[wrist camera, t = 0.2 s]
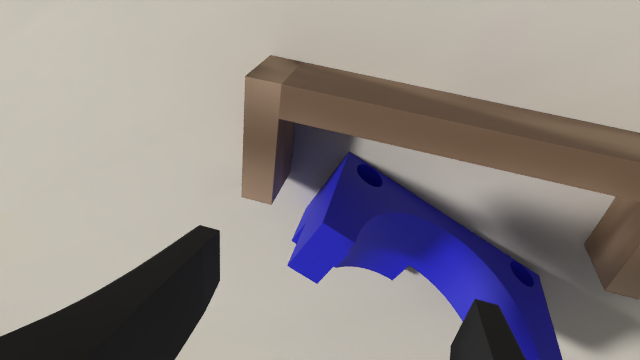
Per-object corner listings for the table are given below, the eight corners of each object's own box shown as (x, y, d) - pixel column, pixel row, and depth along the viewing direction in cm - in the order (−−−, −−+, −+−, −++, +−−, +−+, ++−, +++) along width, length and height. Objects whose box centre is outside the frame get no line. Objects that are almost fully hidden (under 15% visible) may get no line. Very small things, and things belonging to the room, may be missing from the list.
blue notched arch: (307, 206, 23) (272, 284, 18) (349, 149, 21) (322, 222, 16) (477, 313, 24) (488, 413, 20) (537, 273, 22) (567, 376, 17)
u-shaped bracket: (616, 252, 20) (641, 300, 18) (263, 165, 22) (241, 197, 20) (695, 144, 17) (740, 184, 14) (270, 55, 19) (245, 76, 16)
